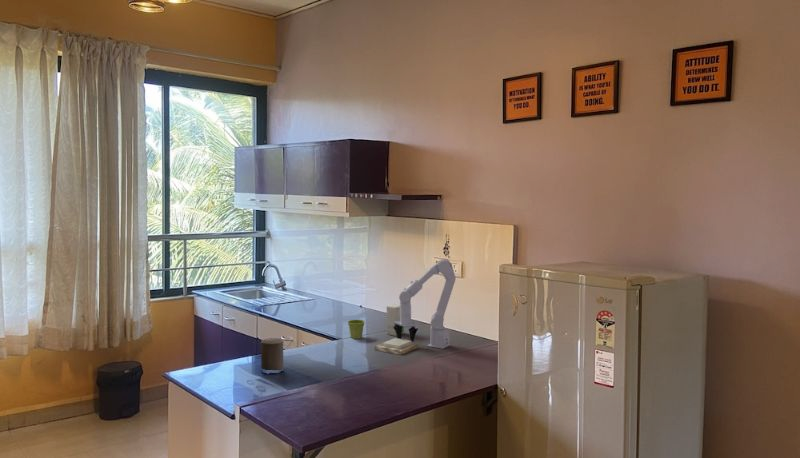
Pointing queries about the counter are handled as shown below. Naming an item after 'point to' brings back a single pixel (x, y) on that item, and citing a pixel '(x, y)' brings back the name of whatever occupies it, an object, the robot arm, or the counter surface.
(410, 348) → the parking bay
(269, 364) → the pillar candle
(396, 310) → the skincare box
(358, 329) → the plant pot
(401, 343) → the cream tile slab
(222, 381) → the counter surface
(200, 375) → the counter surface
